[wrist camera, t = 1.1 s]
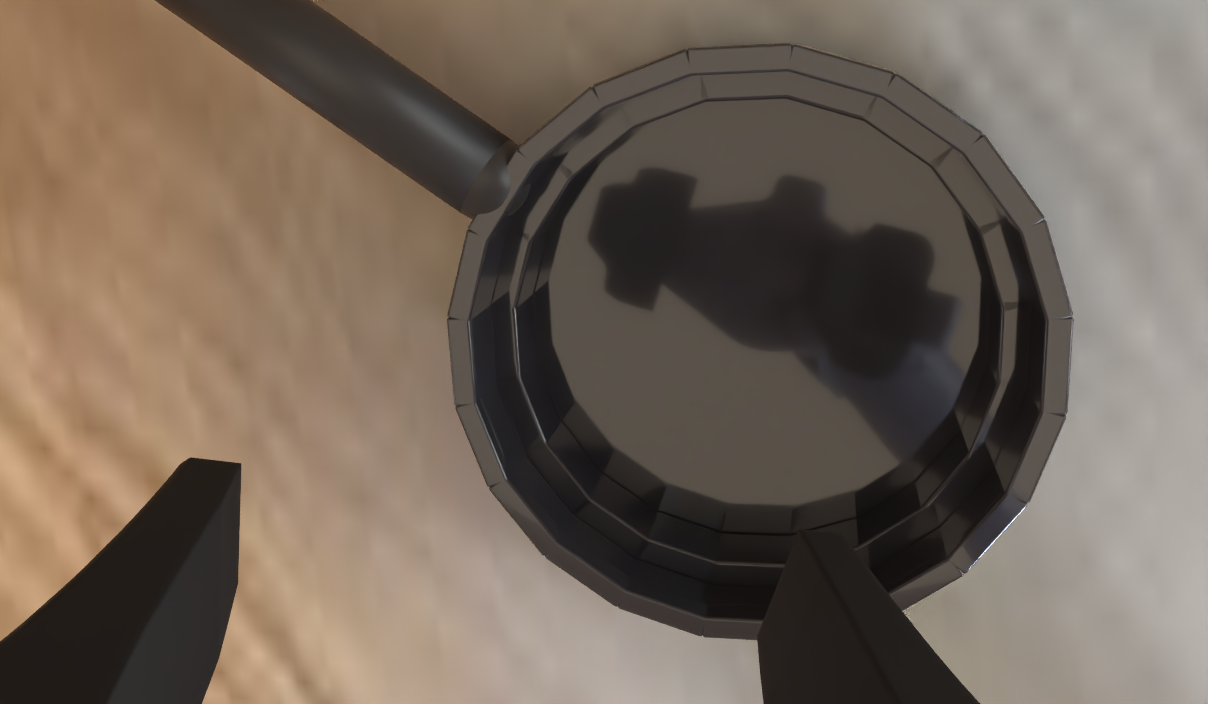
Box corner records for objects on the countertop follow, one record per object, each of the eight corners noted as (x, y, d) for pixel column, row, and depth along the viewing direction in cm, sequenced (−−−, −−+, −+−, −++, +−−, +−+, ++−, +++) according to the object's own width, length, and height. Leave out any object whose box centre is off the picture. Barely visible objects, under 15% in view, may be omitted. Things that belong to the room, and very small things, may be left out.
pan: (1161, 258, 23) (1219, 296, 20) (813, 657, 27) (812, 744, 24) (685, -72, 23) (661, -90, 20) (407, 374, 27) (348, 422, 24)
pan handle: (556, 161, 23) (535, 171, 21) (512, 230, 24) (488, 246, 22) (124, -139, 23) (68, -154, 21) (91, -62, 24) (34, -70, 22)
